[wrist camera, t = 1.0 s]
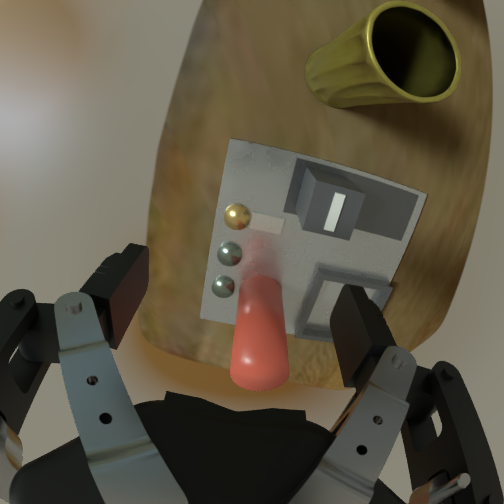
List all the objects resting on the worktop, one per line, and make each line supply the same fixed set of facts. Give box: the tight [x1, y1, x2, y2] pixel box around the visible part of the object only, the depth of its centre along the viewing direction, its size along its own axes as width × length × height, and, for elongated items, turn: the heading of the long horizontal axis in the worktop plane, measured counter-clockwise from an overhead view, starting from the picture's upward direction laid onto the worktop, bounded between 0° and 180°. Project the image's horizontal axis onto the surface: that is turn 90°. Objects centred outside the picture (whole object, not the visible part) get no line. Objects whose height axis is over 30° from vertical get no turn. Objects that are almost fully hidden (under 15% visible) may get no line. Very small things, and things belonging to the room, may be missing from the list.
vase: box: [306, 1, 462, 108], centre depth 15 cm, size 6×6×14 cm
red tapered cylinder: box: [230, 275, 289, 391], centre depth 26 cm, size 5×5×11 cm
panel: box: [200, 138, 427, 342], centre depth 29 cm, size 20×20×2 cm
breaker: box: [295, 167, 366, 241], centre depth 24 cm, size 4×4×5 cm
